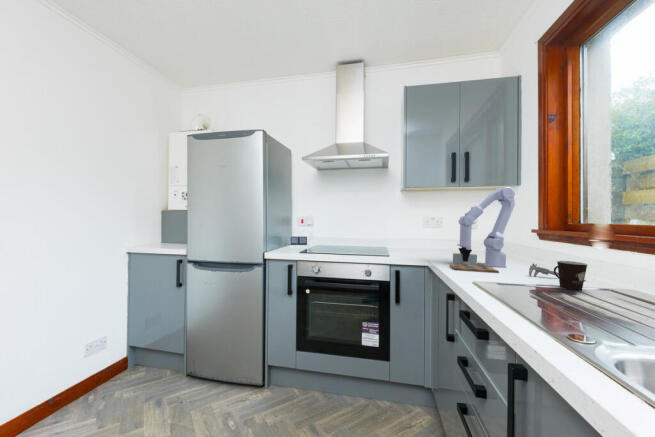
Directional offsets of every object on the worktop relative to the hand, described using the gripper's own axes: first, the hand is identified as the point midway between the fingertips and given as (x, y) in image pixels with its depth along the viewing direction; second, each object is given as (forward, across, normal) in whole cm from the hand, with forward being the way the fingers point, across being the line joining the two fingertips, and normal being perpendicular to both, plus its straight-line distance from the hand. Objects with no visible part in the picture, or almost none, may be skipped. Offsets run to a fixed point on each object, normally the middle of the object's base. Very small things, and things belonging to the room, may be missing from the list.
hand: (464, 261), depth 151 cm
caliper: (+2, +24, +32) cm, 40 cm away
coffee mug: (+2, +43, +25) cm, 50 cm away
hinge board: (+2, +15, 0) cm, 15 cm away
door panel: (+2, 0, 0) cm, 2 cm away
